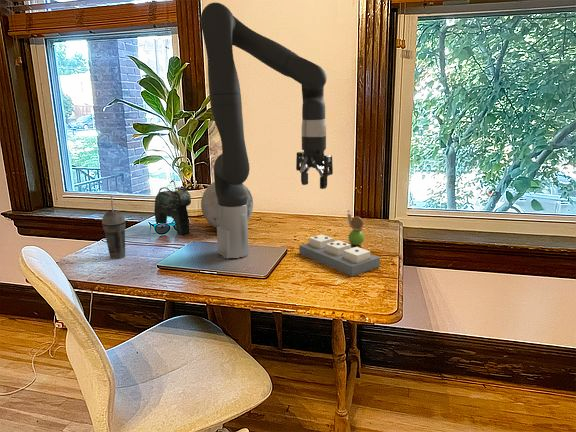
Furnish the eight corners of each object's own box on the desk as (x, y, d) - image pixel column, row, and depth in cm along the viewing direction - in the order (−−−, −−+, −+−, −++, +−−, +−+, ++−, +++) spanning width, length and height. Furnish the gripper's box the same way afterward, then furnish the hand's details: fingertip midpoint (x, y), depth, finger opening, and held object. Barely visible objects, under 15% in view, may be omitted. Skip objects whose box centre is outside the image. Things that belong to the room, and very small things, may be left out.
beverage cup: (104, 261, 139) (96, 200, 134) (107, 254, 146) (100, 195, 141) (128, 259, 141) (122, 198, 136) (130, 252, 148) (124, 193, 143)
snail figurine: (350, 240, 158) (352, 208, 155) (366, 244, 154) (368, 211, 151) (342, 244, 154) (343, 211, 151) (358, 248, 150) (360, 214, 147)
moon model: (192, 234, 167) (189, 182, 161) (217, 220, 185) (214, 173, 180) (241, 239, 161) (239, 185, 155) (261, 224, 179) (260, 175, 174)
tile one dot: (357, 263, 129) (357, 254, 129) (343, 258, 134) (343, 249, 133) (369, 259, 133) (370, 250, 132) (356, 254, 137) (356, 246, 136)
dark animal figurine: (194, 233, 167) (191, 182, 162) (180, 237, 163) (176, 184, 157) (165, 224, 180) (161, 175, 175) (151, 227, 175) (146, 178, 170)
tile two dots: (320, 249, 142) (320, 241, 141) (309, 244, 146) (309, 237, 145) (333, 245, 145) (333, 237, 144) (321, 241, 149) (321, 233, 148)
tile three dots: (337, 256, 136) (338, 247, 135) (325, 251, 140) (325, 243, 139) (350, 252, 139) (351, 244, 138) (338, 247, 143) (338, 239, 142)
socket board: (352, 276, 127) (352, 266, 127) (299, 253, 146) (299, 245, 145) (379, 266, 134) (380, 257, 134) (326, 246, 153) (326, 238, 152)
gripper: (289, 134, 138) (290, 185, 142) (321, 136, 127) (320, 191, 132) (307, 132, 143) (307, 182, 147) (339, 135, 132) (338, 188, 136)
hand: (313, 186), depth 139 cm, fingers open, 8 cm apart
